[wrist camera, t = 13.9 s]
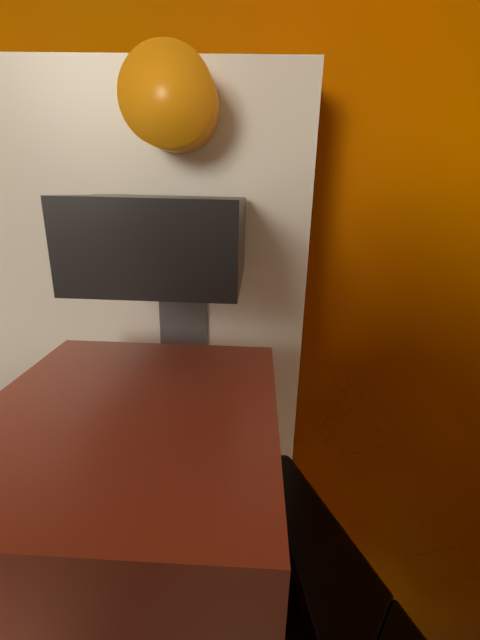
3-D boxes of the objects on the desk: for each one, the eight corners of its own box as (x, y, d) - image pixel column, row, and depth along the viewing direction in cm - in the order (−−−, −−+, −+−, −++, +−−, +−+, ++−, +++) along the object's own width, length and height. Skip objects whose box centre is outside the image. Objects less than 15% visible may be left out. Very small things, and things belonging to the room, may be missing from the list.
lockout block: (263, 512, 9) (268, 833, 5) (87, 503, 10) (-77, 804, 5) (271, 347, 8) (290, 569, 3) (66, 340, 8) (-196, 542, 3)
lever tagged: (244, 268, 9) (237, 304, 6) (118, 264, 9) (54, 298, 6) (245, 197, 8) (239, 200, 6) (112, 194, 9) (40, 195, 6)
